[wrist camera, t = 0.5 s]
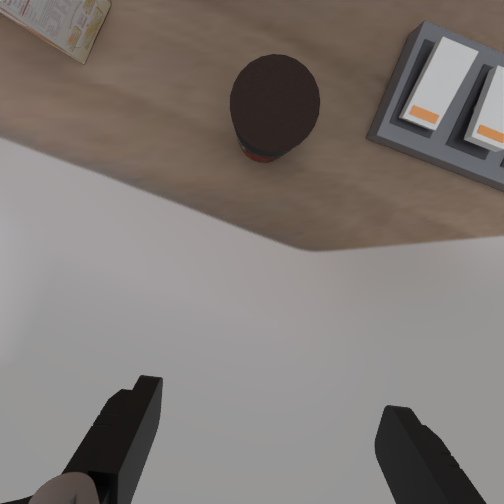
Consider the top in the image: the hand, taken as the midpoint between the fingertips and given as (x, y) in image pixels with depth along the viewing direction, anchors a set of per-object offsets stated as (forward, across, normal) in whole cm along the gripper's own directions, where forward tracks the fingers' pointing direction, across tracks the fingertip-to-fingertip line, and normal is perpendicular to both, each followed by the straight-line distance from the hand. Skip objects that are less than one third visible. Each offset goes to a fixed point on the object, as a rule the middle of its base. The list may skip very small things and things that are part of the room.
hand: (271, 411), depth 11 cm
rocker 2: (+24, -21, -17) cm, 36 cm away
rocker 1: (+24, -15, -18) cm, 33 cm away
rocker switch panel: (+28, -21, -17) cm, 39 cm away
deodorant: (+28, +1, -12) cm, 31 cm away
